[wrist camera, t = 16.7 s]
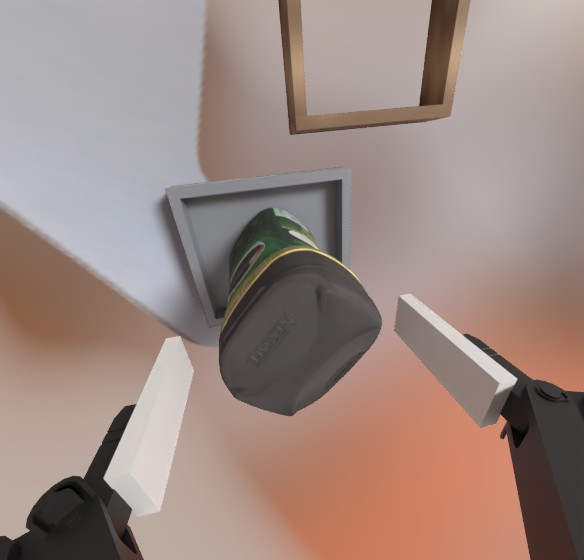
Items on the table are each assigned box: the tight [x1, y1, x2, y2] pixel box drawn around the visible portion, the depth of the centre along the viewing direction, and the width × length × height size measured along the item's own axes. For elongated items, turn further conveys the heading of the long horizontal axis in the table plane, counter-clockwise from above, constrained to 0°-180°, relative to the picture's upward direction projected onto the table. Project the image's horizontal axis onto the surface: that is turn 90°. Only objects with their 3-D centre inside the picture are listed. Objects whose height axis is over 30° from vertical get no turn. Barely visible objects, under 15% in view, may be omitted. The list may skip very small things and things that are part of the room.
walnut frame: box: [279, 0, 470, 135], centre depth 20 cm, size 15×15×4 cm
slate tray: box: [165, 167, 352, 327], centre depth 28 cm, size 16×18×3 cm
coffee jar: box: [219, 208, 382, 416], centre depth 20 cm, size 10×8×19 cm
